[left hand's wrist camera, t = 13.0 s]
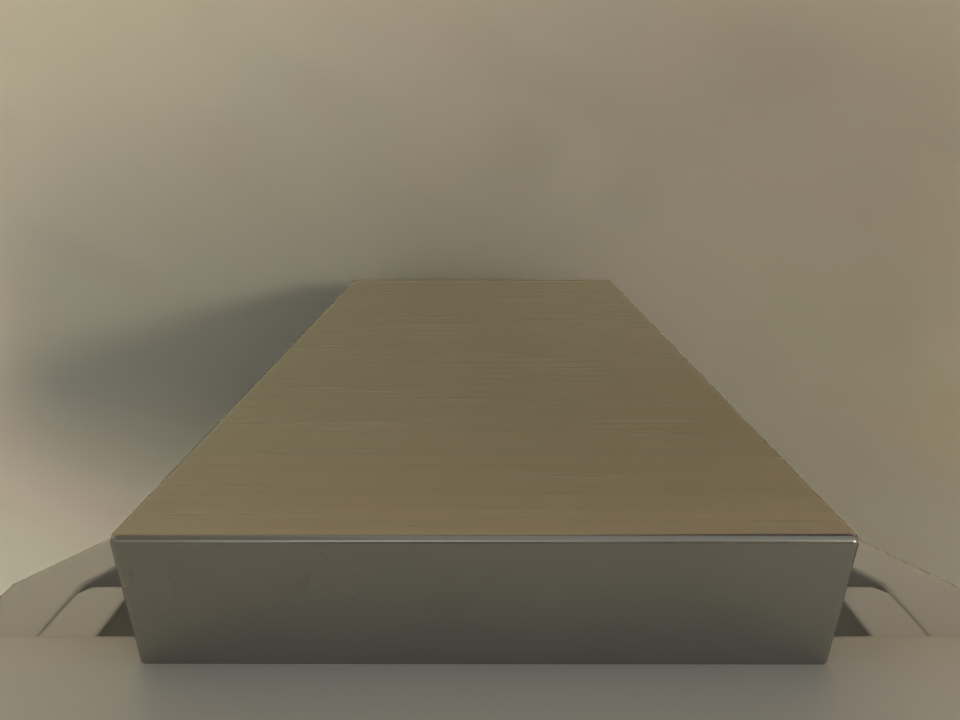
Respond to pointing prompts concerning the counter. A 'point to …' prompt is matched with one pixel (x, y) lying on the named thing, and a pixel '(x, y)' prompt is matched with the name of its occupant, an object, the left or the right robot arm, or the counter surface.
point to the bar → (483, 500)
